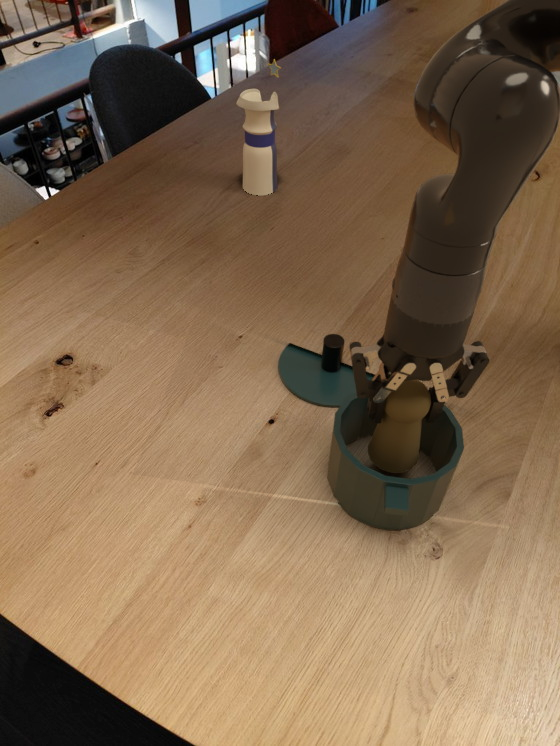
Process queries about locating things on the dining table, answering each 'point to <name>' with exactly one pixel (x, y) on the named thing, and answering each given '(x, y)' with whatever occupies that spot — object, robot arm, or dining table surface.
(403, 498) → the pot
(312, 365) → the lid
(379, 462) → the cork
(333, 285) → the dining table surface
